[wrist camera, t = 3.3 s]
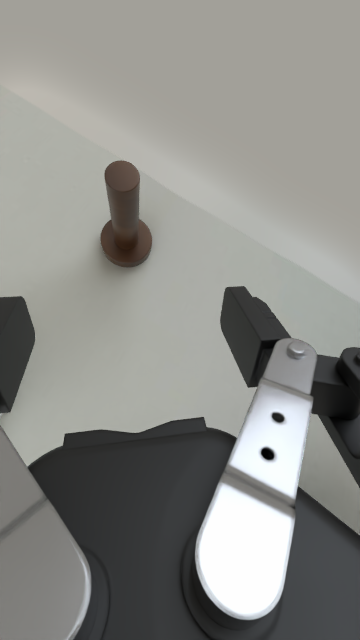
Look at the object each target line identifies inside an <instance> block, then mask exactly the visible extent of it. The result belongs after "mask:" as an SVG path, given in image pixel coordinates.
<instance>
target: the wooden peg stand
mask: <svg viewBox="0 0 360 640" xmlns="http://www.w3.org/2000/svg"><path fill="white" fill-rule="evenodd" d="M105 183H106V189H107V195H108V201H109V207H110V213H111V220H110V221H109V222H107V224H106V225H105V226H104V228H103V230H102V232H101V245H102V248H103V251H104V254H105V255H106V257H107V258H108V259H109V260H110V261H111V262H113V263H114V264H116V265H119V266H122V267H133V266H136V265H139V264H141V263H142V262H143V261H144V260H146V258H147V257H148V255H149V253H150V251H151V245H152V236H151V232H150V230H149V228H148V227H147V226H146V224H145V223H144V222H142V221H141V220H139V188H140V175H139V172H138V170H137V169H136V167H135V166H134V165H132V164H131V163H129V162H126V161H115V162H113V163H111V164H110V165H109V166H108V167H107V168H106V170H105Z"/></svg>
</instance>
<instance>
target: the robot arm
mask: <svg viewBox="0 0 360 640" xmlns="http://www.w3.org/2000/svg"><path fill="white" fill-rule="evenodd" d="M220 323H221V329H222V332H223V334H224V336H225V339H226V341H227V343H228V345H229V347H230V349H231V352H232V354H233V356H234V358H235V360H236V363H237V365H238V367H239V369H240V371H241V373H242V376H243V378H244V380H245V382H246V384H247V387H248V388H250V387H257V389H256V392H255V395H254V397H253V400H252V402H251V405H250V407H249V410H248V412H247V415H246V417H245V420H244V422H243V425H242V427H241V430H240V432H239V435H238V437H237V438H236V437H235V436H233V435H231V434H229V433H227V432H224V431H221V430H218V429H214V428H208V427H206V424H205V420H204V417H200V418H191V419H183V420H175V421H170V422H167V423H165V424H162V425H159V426H156V427H154V428H151V429H148V430H146V431H143V432H140V433H128V432H119V431H110V430H93V431H85V432H76V433H68V434H65V437H64V443H63V446H61V447H58V448H56V449H54V450H52V451H50V452H48V453H46V454H44V455H43V456H41V457H40V458H38V459H37V460H36V461H34V462H33V463H31V464H30V465H29V466H28V467H27V466H26V465H25V463H24V462H23V460H22V458H21V457H20V455H19V454H18V452H17V451H16V449H15V447H14V446H13V444H12V443H11V441H10V440H9V438H8V437H7V435H6V433H5V432H4V430H3V429H2V427H1V426H0V640H360V535H358V534H357V533H356V532H355V531H353V530H352V529H351V528H350V527H348V526H347V525H346V524H345V523H343V522H342V521H341V520H340V519H338V518H337V517H336V516H335V515H333V514H332V513H331V512H330V511H328V510H327V509H326V508H325V507H323V506H322V505H321V504H320V503H318V502H317V501H316V500H315V499H313V498H312V497H311V496H310V495H308V494H307V493H306V492H305V491H303V490H302V489H301V488H300V487H298V482H299V477H300V471H301V466H302V460H303V454H304V449H305V443H306V438H307V432H308V427H309V421H310V415H311V413H312V414H318V416H319V418H320V419H321V421H322V423H323V425H324V426H325V428H326V430H327V432H328V433H329V435H330V437H331V439H332V440H333V442H334V444H335V446H336V447H337V449H338V451H339V453H340V454H341V456H342V458H343V460H344V461H345V463H346V465H347V467H348V468H349V470H350V472H351V474H352V475H353V477H354V479H355V481H356V482H357V484H358V486H359V488H360V348H356V347H351V348H346V349H344V350H343V352H342V354H341V356H340V358H337V357H330V356H323V355H318V354H317V353H316V351H315V350H314V349H313V348H312V347H311V346H310V345H309V344H307V343H306V342H303V341H301V340H298V339H294V338H291V336H290V335H289V334H288V332H287V331H286V330H285V328H284V327H283V326H282V324H281V323H280V322H279V320H278V319H276V316H275V315H274V314H273V312H271V310H270V308H269V307H268V306H267V304H266V303H265V302H263V301H262V300H260V299H259V298H257V297H252V296H251V295H250V293H249V292H248V290H247V289H246V288H245V287H244V286H240V287H227V288H226V289H225V292H224V299H223V305H222V311H221V318H220ZM34 343H35V331H34V327H33V324H32V321H31V318H30V315H29V312H28V309H27V305H26V302H25V300H24V298H23V297H21V296H18V297H0V413H8V412H11V409H12V406H13V403H14V400H15V397H16V395H17V392H18V389H19V386H20V383H21V380H22V378H23V375H24V372H25V369H26V366H27V363H28V361H29V358H30V355H31V352H32V349H33V346H34Z"/></svg>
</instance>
